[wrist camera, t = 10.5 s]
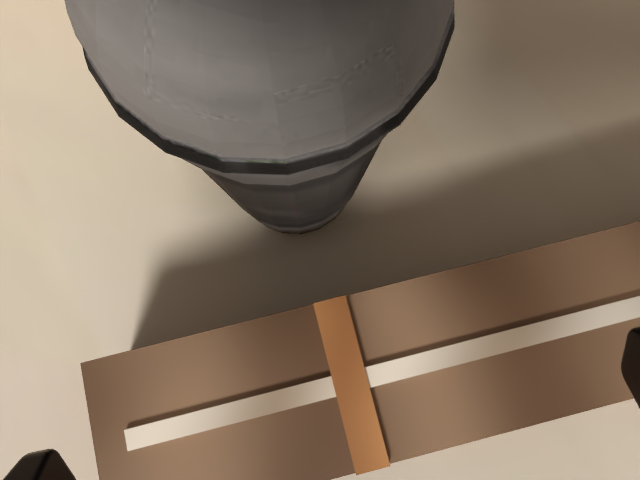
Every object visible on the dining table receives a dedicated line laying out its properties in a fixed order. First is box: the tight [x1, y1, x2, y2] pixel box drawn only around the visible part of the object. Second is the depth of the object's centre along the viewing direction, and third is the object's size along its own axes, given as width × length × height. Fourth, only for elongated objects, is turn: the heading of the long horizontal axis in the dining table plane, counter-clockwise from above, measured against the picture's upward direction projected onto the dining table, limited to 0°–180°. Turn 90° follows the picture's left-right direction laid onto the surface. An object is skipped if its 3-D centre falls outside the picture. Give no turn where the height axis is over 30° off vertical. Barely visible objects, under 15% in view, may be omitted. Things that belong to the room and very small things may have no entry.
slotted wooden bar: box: [81, 221, 640, 480], centre depth 18 cm, size 26×5×4 cm, turn 104°
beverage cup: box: [65, 0, 454, 234], centre depth 12 cm, size 7×7×20 cm
